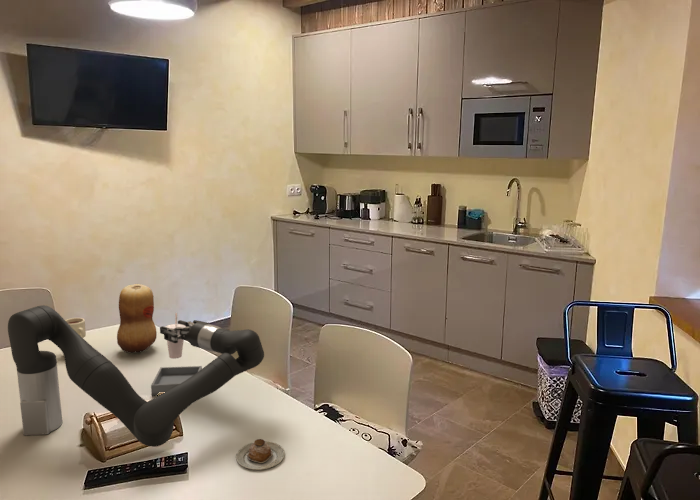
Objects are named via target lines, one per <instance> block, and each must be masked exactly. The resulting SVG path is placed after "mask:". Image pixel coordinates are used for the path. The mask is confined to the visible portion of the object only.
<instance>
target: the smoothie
mask: <svg viewBox="0 0 700 500" xmlns="http://www.w3.org/2000/svg"><path fill="white" fill-rule="evenodd" d="M174 317H175V318H174V321H175V323H172V324H168V325H166V326H165V327H167V328H173V329H175V328H176V327H186V326H185V325H182V324H178V312H175V316H174ZM171 332H173V333H174V331H171ZM178 335H180V330H178ZM166 341H167V343H166V345H167V349H168V357H169V358H170V359H175V360H176V359H179V358H182V355H183V349H184V348H183V347H184V341H185V340H182V339H179V340H178V343H173V342H170V341H168V340H166Z"/></svg>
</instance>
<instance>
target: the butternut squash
mask: <svg viewBox="0 0 700 500" xmlns="http://www.w3.org/2000/svg"><path fill="white" fill-rule="evenodd" d="M154 298H155V297H154V293H153V290H152V289H151V288H150V286H147V285H145V284H141V283H140V284H139V283H135V284H129V285H126V286H124V287H123V288H122V289H121V291H120V293H119V298H118V312H119V321H120V323H119V327H118V329H117V332H116V340H117V341H116V342H117V345H118V347H119V348H120V349H121V350H122V351H124V352H126V353H130V354H131V353H136V354H137V353H144V352H145V351H146V350H148V349H149V348H150V347H151V346H152V345H154V343H155V341H157V335H158V334H157V333H158V332H157V327H156V324H155V322H154V320H153V315H154V311H155V306H154V305H155V304H154Z"/></svg>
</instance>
